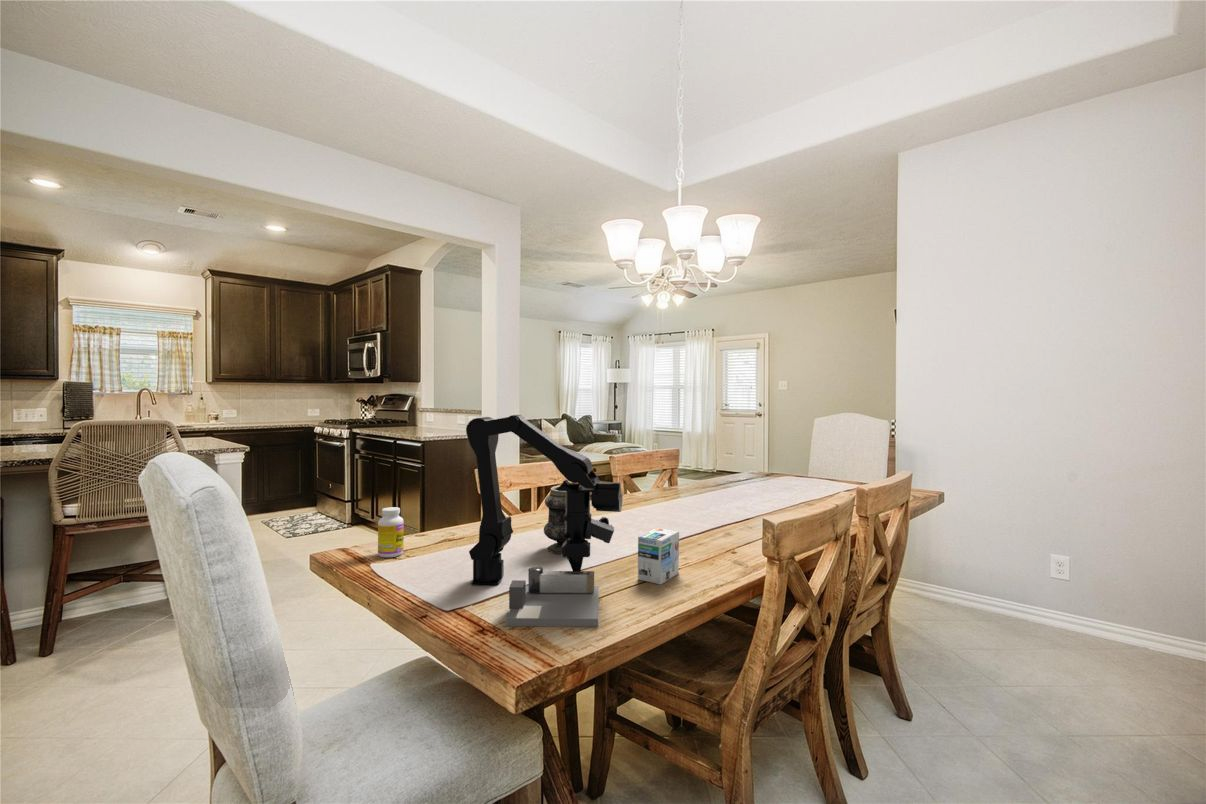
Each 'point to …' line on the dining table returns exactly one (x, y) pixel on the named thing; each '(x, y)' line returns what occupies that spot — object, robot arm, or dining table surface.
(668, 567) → the light bulb box
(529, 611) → the plate
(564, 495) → the apothecary jar
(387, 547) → the supplement bottle
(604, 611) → the dining table surface
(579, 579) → the bar
